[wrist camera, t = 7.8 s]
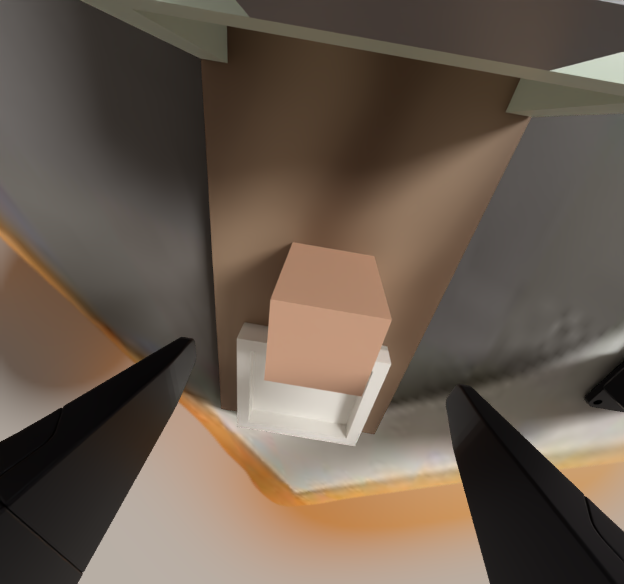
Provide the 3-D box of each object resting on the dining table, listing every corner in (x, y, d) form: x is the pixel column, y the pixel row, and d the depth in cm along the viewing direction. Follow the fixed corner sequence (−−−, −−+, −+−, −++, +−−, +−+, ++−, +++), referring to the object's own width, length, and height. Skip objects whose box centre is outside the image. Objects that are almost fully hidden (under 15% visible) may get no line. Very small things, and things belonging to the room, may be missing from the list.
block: (374, 256, 13) (392, 320, 9) (355, 320, 15) (361, 396, 11) (292, 242, 13) (270, 299, 9) (284, 308, 15) (264, 380, 11)
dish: (387, 346, 16) (391, 364, 15) (354, 427, 20) (354, 446, 19) (244, 322, 16) (236, 338, 15) (243, 409, 20) (237, 426, 19)
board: (687, -259, 6) (751, -330, 5) (372, 419, 22) (374, 434, 21) (197, -352, 6) (171, -442, 5) (226, 395, 22) (221, 408, 21)
